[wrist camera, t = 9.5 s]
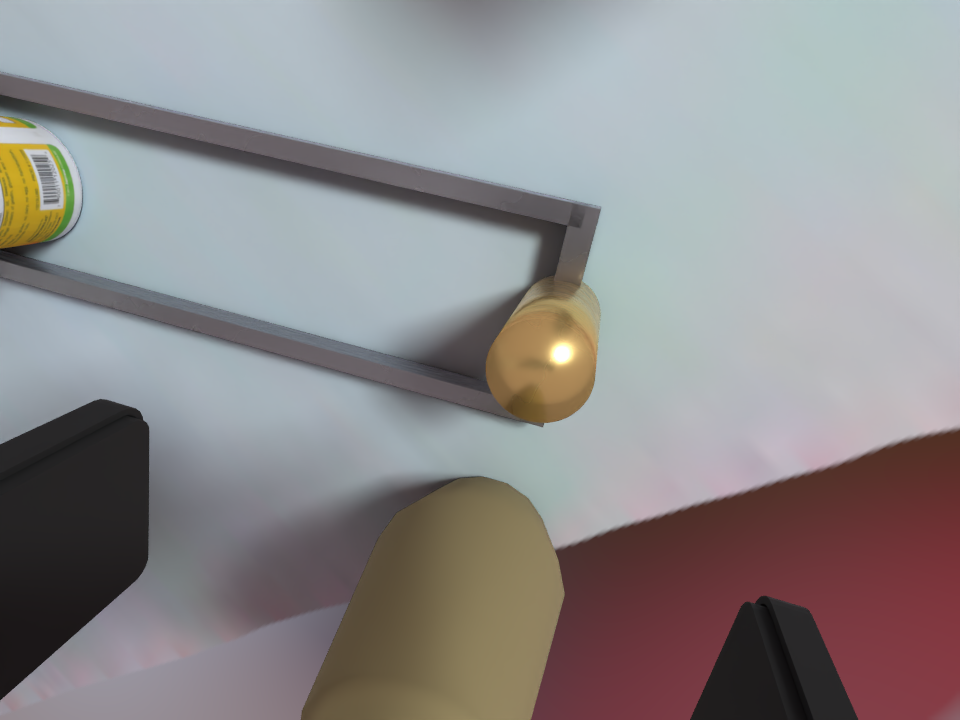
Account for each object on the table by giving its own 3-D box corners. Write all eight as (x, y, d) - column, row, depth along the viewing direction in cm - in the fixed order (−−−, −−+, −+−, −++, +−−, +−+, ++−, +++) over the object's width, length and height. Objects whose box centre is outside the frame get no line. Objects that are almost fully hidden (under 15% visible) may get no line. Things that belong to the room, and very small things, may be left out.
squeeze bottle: (441, 615, 30) (228, 1175, 14) (374, 477, 29) (35, 926, 12) (595, 584, 28) (567, 1222, 11) (532, 431, 26) (386, 915, 9)
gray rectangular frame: (571, 422, 25) (556, 513, 19) (-29, 258, 29) (-213, 286, 23) (630, 213, 22) (637, 235, 16) (-49, 60, 26) (-268, 28, 20)
